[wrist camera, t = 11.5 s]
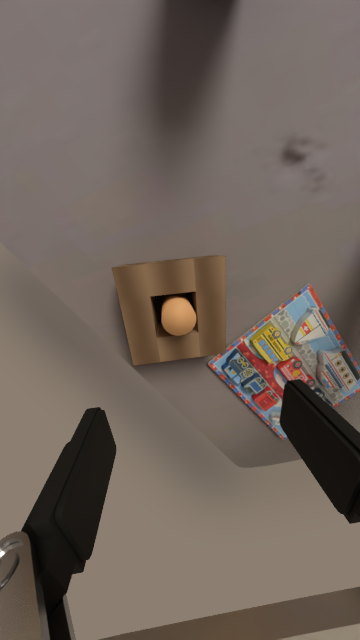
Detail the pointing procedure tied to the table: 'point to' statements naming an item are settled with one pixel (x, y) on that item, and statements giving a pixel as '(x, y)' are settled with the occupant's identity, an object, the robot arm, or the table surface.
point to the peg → (177, 314)
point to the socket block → (171, 278)
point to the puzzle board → (289, 358)
